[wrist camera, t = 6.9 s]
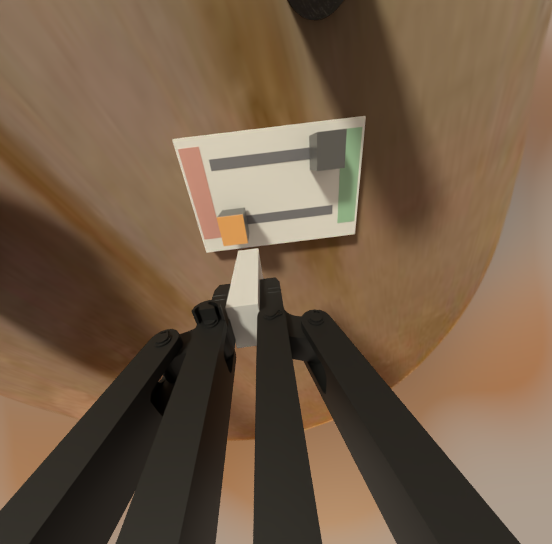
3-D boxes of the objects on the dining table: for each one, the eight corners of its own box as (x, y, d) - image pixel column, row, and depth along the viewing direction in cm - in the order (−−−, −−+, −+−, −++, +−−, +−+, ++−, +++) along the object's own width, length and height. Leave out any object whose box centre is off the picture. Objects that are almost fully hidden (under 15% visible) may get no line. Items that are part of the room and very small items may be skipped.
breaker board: (209, 247, 31) (199, 264, 26) (178, 140, 24) (157, 135, 19) (349, 229, 31) (366, 243, 26) (358, 118, 24) (383, 108, 19)
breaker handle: (228, 235, 28) (223, 246, 25) (222, 210, 26) (216, 217, 23) (249, 233, 28) (248, 243, 25) (244, 207, 26) (242, 214, 23)
